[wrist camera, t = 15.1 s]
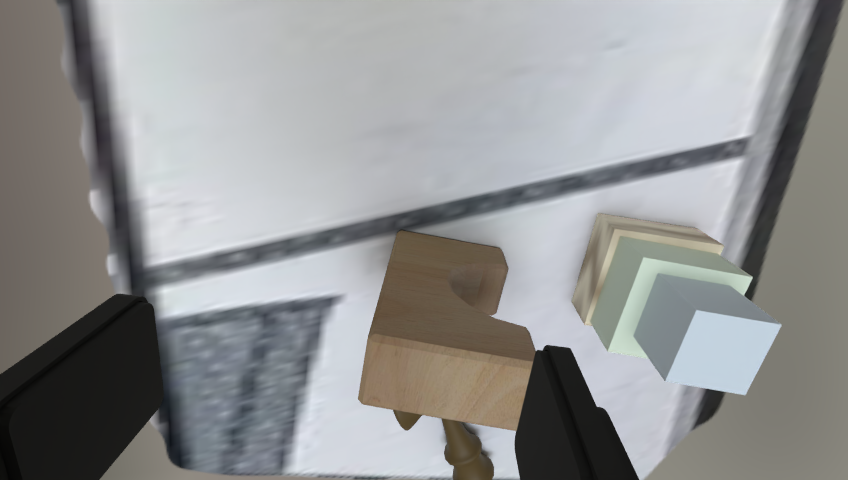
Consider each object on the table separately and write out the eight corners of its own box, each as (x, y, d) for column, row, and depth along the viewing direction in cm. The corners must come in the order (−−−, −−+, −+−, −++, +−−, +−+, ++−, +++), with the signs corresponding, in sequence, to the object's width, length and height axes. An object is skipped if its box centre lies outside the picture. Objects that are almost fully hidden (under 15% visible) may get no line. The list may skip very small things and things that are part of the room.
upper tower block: (620, 235, 41) (643, 257, 36) (717, 253, 41) (752, 277, 36) (590, 321, 44) (607, 351, 39) (680, 337, 44) (708, 369, 39)
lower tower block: (596, 212, 45) (614, 228, 41) (695, 227, 45) (724, 245, 41) (570, 300, 49) (584, 324, 44) (662, 314, 49) (685, 340, 44)
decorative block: (504, 248, 47) (545, 367, 28) (490, 296, 49) (520, 438, 30) (398, 226, 46) (368, 332, 27) (388, 276, 48) (354, 406, 29)
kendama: (436, 466, 58) (377, 341, 51) (509, 446, 57) (458, 316, 50) (438, 509, 52) (371, 375, 46) (518, 488, 51) (462, 348, 44)
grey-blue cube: (657, 273, 36) (696, 310, 31) (730, 285, 37) (781, 324, 31) (633, 336, 39) (665, 381, 33) (701, 347, 39) (745, 394, 33)
